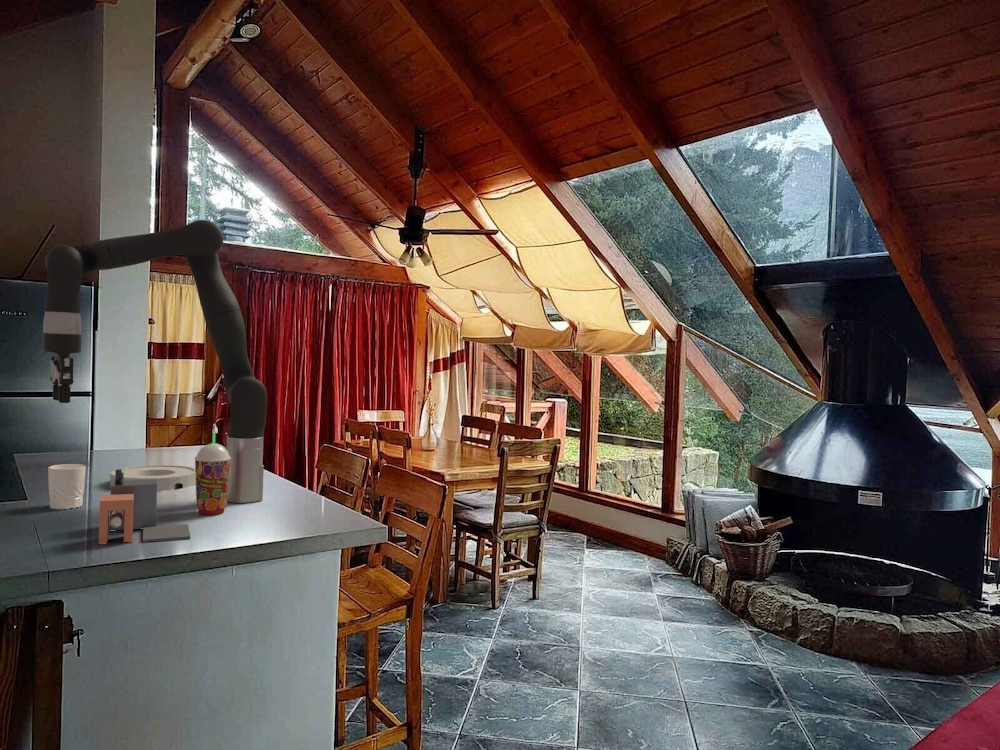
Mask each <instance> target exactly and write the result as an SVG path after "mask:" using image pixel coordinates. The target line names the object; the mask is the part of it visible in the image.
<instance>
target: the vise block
mask: <svg viewBox="0 0 1000 750" xmlns="http://www.w3.org/2000/svg"><path fill="white" fill-rule="evenodd" d="M115 470H116V469H115ZM123 478H124V470H123V469H121V468H117V470H116V471H115V481H112V484H111V486H110V495H121V494H134V505H133V529H141V528H143V527H149V526H157V505H158V504H157V502H158V501H157V499H158V497H157V496H158V491H157V479H155V480H128V481H123ZM124 520H125V510H110V511H109V531H110V530H124Z"/></svg>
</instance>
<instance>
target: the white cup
mask: <svg viewBox="0 0 1000 750" xmlns="http://www.w3.org/2000/svg"><path fill="white" fill-rule="evenodd" d="M47 469H48V472H47V473H48V477H47V478H48V497H49V508H50V509H53V510H64V509H65V510H70V508H73V509H77V508H76V507H78V508H80V506H81V507H83V499H84V497H83V496H84V493H85V483H86V469H87V465H85V464H82V463H81V464H79V463H65V464H64V463H62V464H54V465H51V466H48V467H47Z"/></svg>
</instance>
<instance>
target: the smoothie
mask: <svg viewBox="0 0 1000 750" xmlns="http://www.w3.org/2000/svg"><path fill="white" fill-rule="evenodd" d="M230 465H231V457H230V455H229V453H228V451H227V447H225V446H224V445H222V444H220V443H216V432H212V442H211V443H208V444H206V445H204V446H203V447H201V448H200V449H199V451H198V453H197V455H196V456H195V457H194V468H195V473H196V485H195V495H196V496H195V497H196V499H195V501H196V503H195V504H196V509H197V510H198V514H200V515H201V516H202V515H203V516H217V515H221V514H223V513H224V512H225V508H226V507H227V504H228V503H227V502H228V501H227V495H228V485H229V475H230Z"/></svg>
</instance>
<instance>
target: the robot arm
mask: <svg viewBox="0 0 1000 750" xmlns="http://www.w3.org/2000/svg"><path fill="white" fill-rule="evenodd" d="M224 239H225V237H224V233H223V231H222V229H221V228H220V227H219V226H218V225H217V224H216V223H214V222H213V221H211V220H207V219H198V220H194V221H192V222H190V223H187V224H185V225H181V226H178V227H174V228H171V229H167V230H163V231H162V230H161V231H156V232H151V233H150V232H149V233H143V234H136V235H128V236H122V237H113V238H108V239H106V238H105V239H100V240H96V241H92V242H91V243H88V244H87V243H86V244H79V245H74V246H71V245H65V244H60V245H56V246H53V247H52V248H51V249H50V250H49V251H48V252H47V253H46V256H45V258H44V265H45V268H46V271H47V272H46V273H47V274H46V275H47V288H46V291H45V299H44V301H45V302H44V317H43V325H42V326H43V327H42V328H43V330H42V331H43V333H42V351H43V352H44V353H53V354H54V355H53V356H51V357H50V382H51V384H52V400H53V401H58V403H60V404H69V403H71V387H72V385H73V384H74V383H75V382H74V362H75V361H74V360H75V359H74V357H71V354H80V353H81V352H82V318H81V317H82V315H81V306H82V305H81V302H82V301H81V299H82V298H81V287H82V279H83V275H85V274H90V273H92V272H98V271H107V270H112V269H120V268H124V267H125V268H126V267H130V266H134V265H135V266H136V265H139V264H142V263H147V262H150V261H155V260H158V259H163V258H169V257H172V256H180V255H184V256H185V259H186V261H187V264H188V266H189V268H190V271H191V274H192V276H193V279H194V282H195V287H196V291H197V295H198V300H199V303H200V306H201V307H200V308H201V310H202V314H203V318H204V322H205V324H206V329H207V332H208V334H209V337H210V339H211V343H212V345H213V348H214V351H215V353H216V355H217V358H218V361H219V364H220V367H221V371H222V376H223V382H224V387H225V394H226V397H227V400H228V401H227V402H229V404H230V411H229V412H230V414H229V415H230V417H229V423H228V426H227V430H226V431H227V433H226V435H227V436H226V449H227V451H228V453H229V455H230V457H231V465H230V475H229V485H228V495H227V502H228V503H236V504H243V503H244V504H247V503H253V502H254V503H255V502H259V501H261V502H262V501H263V499H264V498H263V497H264V473H265V471H264V469H265V466H264V464H263V456H264V431H265V427H266V424H267V409H268V393H267V388H266V386H265V384H264V383H262V381H260V380H259V379H258V378H257V379H256V376H255V374H254V372H253V368H252V366H251V363H250V360H249V357H248V356H249V355H248V349H247V346H248V345H247V333H246V327H245V322H244V318H243V315H242V310H241V307H240V304H239V302H238V300H237V298H236V296H235V293H234V292H233V290H232V288H231V287H230V286H229V283H228V282H227V280H226V278H225V276H224V274H223V271H222V268H221V263H220V259H219V254H218V252H219V250H220V249H221V248H222V246H223V244H224Z"/></svg>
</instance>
